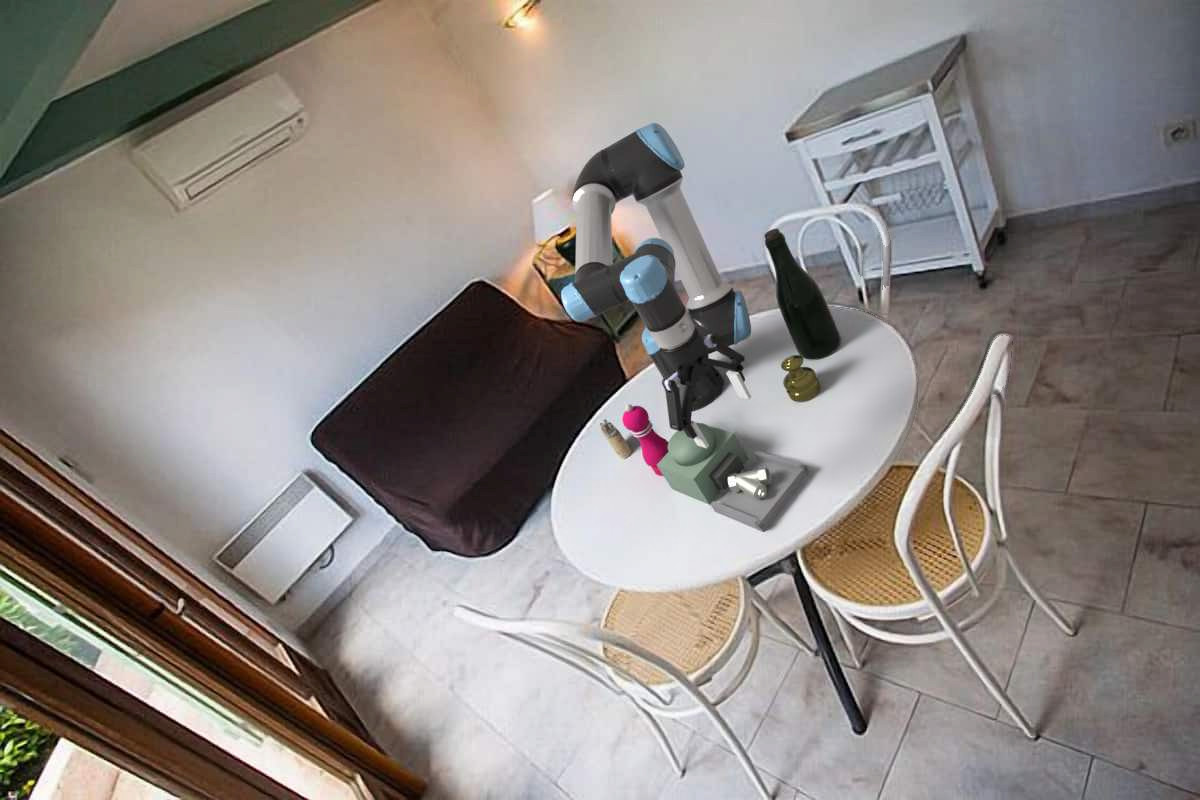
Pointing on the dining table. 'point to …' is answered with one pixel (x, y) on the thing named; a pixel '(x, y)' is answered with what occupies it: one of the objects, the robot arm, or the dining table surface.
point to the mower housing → (702, 462)
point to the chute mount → (778, 492)
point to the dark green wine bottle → (801, 302)
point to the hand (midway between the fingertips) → (724, 421)
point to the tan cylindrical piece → (615, 439)
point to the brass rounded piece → (799, 379)
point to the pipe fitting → (751, 482)
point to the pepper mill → (645, 436)
